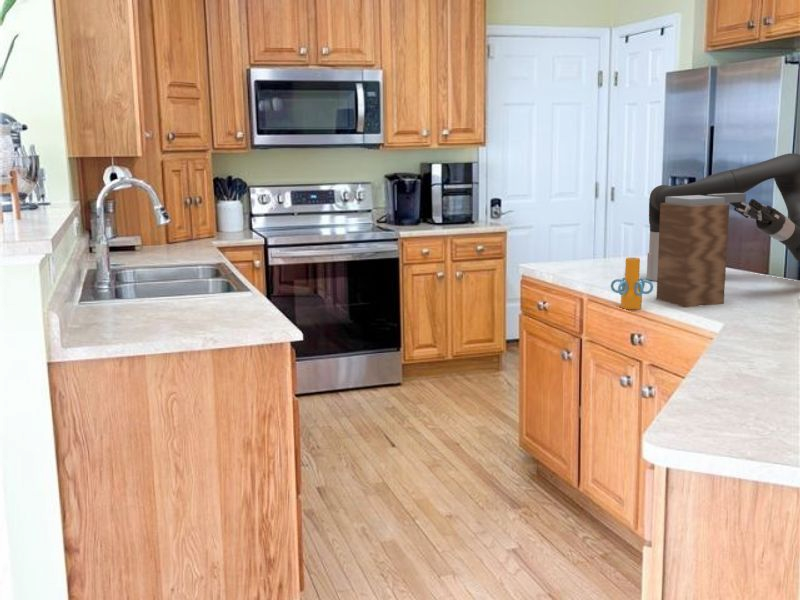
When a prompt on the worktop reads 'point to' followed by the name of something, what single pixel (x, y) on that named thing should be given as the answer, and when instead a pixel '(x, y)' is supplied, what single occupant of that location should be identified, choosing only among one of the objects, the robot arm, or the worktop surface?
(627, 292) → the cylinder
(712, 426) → the worktop surface
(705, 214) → the post
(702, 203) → the lid
